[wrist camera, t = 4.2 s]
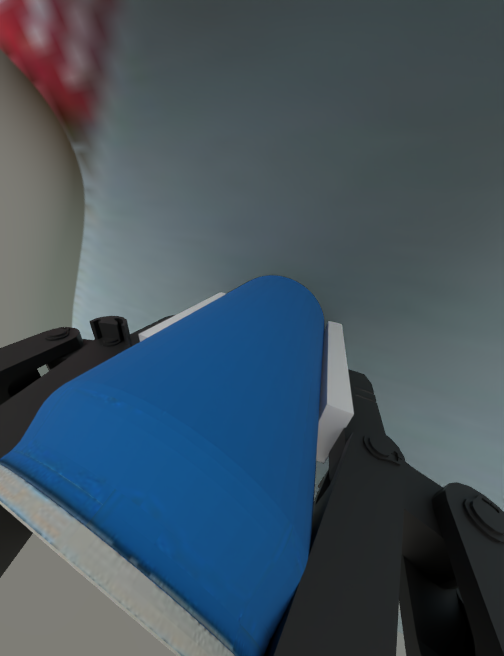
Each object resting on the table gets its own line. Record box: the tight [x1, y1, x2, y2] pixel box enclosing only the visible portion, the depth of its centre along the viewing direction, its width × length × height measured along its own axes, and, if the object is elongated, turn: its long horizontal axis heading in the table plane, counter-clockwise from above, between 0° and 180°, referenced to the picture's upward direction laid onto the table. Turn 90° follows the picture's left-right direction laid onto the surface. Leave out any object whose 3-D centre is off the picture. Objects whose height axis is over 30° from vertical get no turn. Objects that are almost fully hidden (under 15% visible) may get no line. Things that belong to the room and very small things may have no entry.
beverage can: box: [0, 275, 324, 656], centre depth 8 cm, size 6×6×12 cm
